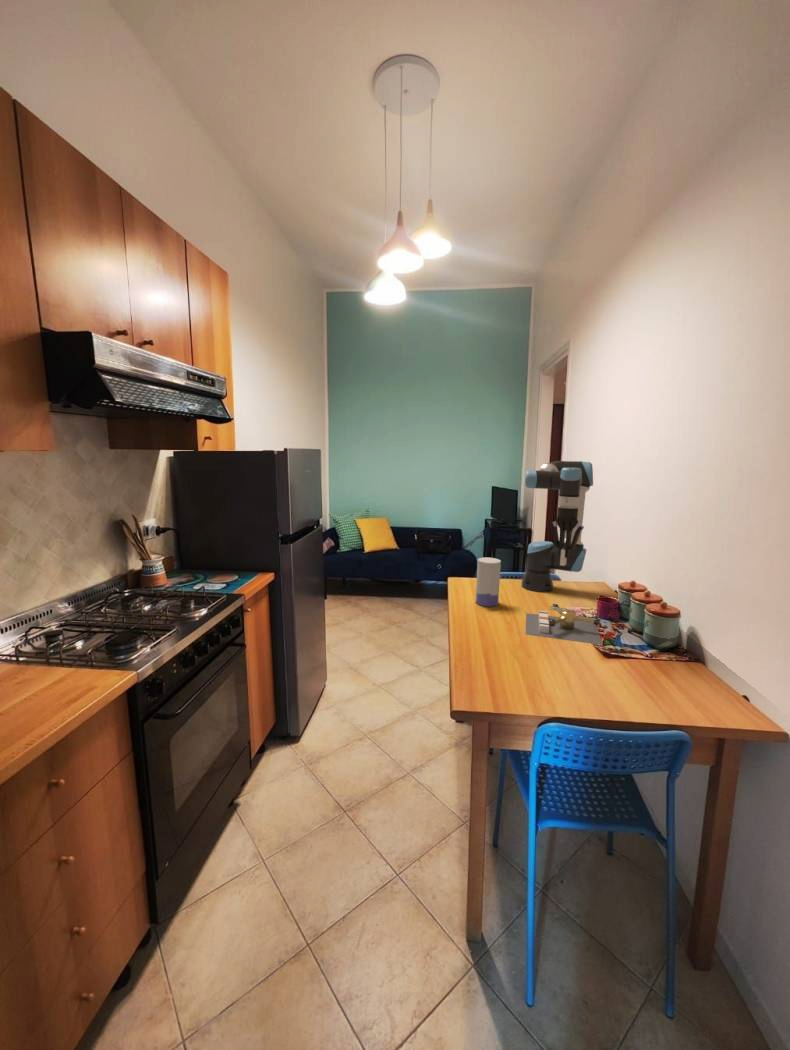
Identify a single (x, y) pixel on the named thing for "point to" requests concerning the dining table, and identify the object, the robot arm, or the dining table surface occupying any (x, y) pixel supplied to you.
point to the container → (488, 581)
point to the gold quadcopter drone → (569, 618)
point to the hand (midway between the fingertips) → (562, 564)
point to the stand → (561, 629)
